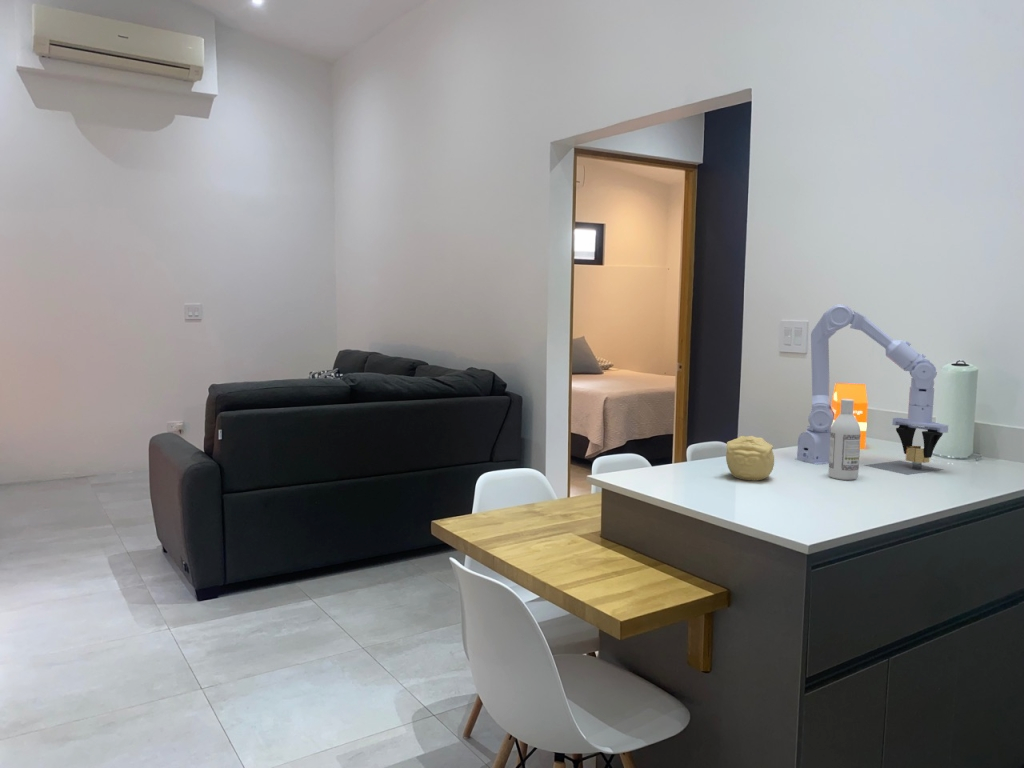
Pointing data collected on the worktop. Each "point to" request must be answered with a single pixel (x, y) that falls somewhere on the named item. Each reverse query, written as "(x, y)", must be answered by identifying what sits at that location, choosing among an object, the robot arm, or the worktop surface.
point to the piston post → (916, 465)
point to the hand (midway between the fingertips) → (917, 455)
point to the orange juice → (859, 408)
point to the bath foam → (845, 444)
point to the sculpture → (750, 458)
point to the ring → (915, 454)
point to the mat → (902, 467)
